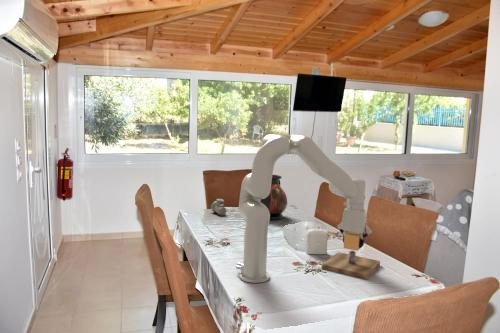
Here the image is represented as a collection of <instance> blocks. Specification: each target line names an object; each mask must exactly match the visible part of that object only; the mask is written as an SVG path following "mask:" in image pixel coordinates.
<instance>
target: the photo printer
mask: <svg viewBox="0 0 500 333" xmlns="http://www.w3.org/2000/svg"><path fill="white" fill-rule="evenodd" d="M328 239H329V238H328V231H327V230H326V229H322V228H311V229H309V230H307V231H306V243H305V246H306V249H305V254H307V255H327V254H328Z"/></svg>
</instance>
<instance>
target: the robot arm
mask: <svg viewBox="0 0 500 333" xmlns="http://www.w3.org/2000/svg"><path fill="white" fill-rule="evenodd" d="M285 155H297V156H298V157H299V158H300V159H301V160H302V161H303V162H304V163H305V164H306V165H307V166H308V167H309V168H310V169H311V171H312V172H314V174H316V175H317V176H319V177H321V178H322V179H325V180H326V181H328V182H329V183H328V190H329V191H330V192H331V193H332V194H334V195H336V196H339V197H342V198H344V199H346V202H345V201H344V202H343V206H345V208H344V209H343V212H342V218H341V222H340V223H338V224H337V225H336V228H337V229H338V230H339V232H340V234H341V235H342V242H343V243H344V234H345V233H346V232H354V233H359V235H360V241H359V248H361V247H362V248H363V246H364V244H365V238H366V237H369V235H370V234H372V233H373V231H372V229H370V227H369V226H368V225H367V212H366V209H365V198H366V180H365V179H364V178H361V177H360V178H359V177H358V178H357V177H351V176H350V175H349V174H348V173H347V172H346V171H345V170H343V169H342V168H341V167H340V166H339V165H338V164H336V163H335V162H334V161H333V160H332V159H330V158H329V157H328V156H327V155H326V153H325V152H323V150H322V149H321V148H320V147H319V146H318V144H316V142H315V141H314V140H313V139H312V138H311V137H309V136H307V135H302V134H275V133H270V134H267V135H265V136H264V137H263V138H262V140H261V147H260V148H259V149H258V150H257V151H256V154H255V156H254V159H253V162H252V168H251V172H250V173H248V174H246V175H245V176H244V178H243V179H242V182H241V187H240V192H239V199H238V200H239V201H238V212H239V215H240V216H241V217H242V219H244V220H245V226H244V234H243V262H239V261H238V262H237V263H236V266H235V269H237V270H240V272H239V274H238V275H239V278H240V280H241V281H243V282H246V283H250V284H251V283H252V284H259V283H265V282H267V281H269V280H270V279H271V278H270V277H271V274H270V273H269V272H268V271H267V259H268V257H267V256H268V235H269V234H268V232H269V225H270V221H271V220H270V213H269V210H268V208H267V207H266V206H265V205H264V204H263V203H261V202H260V201H261V199H265V198H266V197H267V196H268V195H269V193H270V190H271V182H272V175H274V174H273V173H274V168H275V164H276V163H277V161H278V160H279V159H280V158H281V157H283V156H285ZM365 232H366V233H365ZM362 248H361V249H362Z"/></svg>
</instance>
